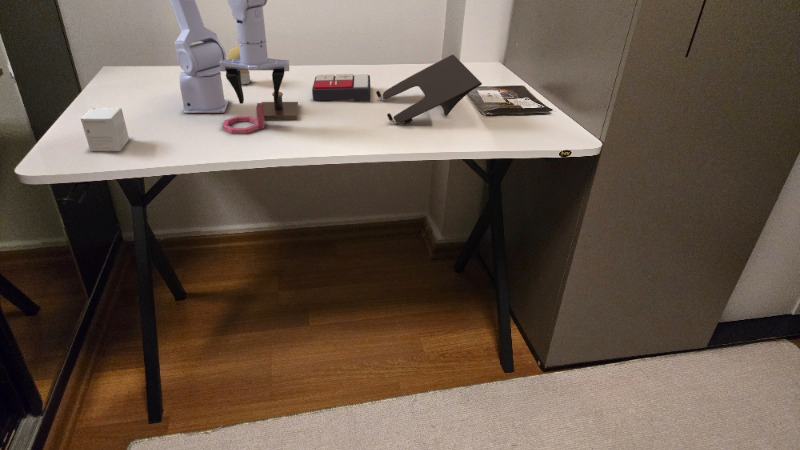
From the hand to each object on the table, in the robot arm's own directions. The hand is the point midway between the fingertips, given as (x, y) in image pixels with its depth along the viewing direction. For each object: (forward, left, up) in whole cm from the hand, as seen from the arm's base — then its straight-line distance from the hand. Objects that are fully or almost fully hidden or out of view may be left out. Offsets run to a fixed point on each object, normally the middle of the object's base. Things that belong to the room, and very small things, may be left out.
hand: (259, 101), depth 119 cm
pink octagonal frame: (-5, 0, -6) cm, 7 cm away
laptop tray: (+39, +9, -6) cm, 41 cm away
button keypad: (+19, +21, -6) cm, 29 cm away
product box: (-31, -9, -6) cm, 32 cm away
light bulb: (-8, +30, -6) cm, 32 cm away
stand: (+3, +8, -6) cm, 11 cm away
